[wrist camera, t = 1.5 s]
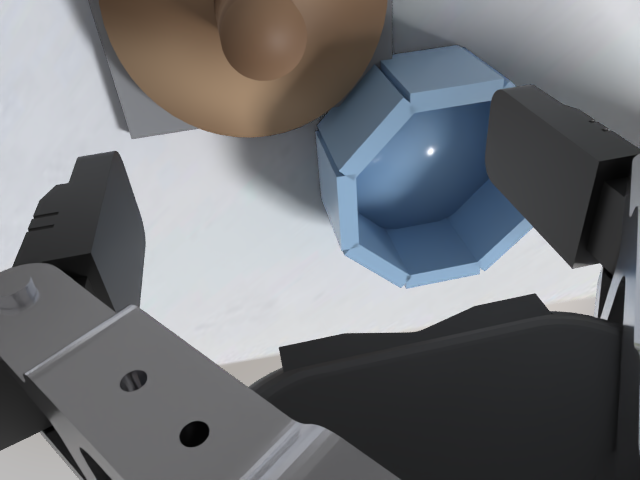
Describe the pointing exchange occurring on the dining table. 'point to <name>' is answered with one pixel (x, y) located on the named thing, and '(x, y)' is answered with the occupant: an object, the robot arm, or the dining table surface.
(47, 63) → the dining table surface
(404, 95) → the bowl
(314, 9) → the lid
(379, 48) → the mat
